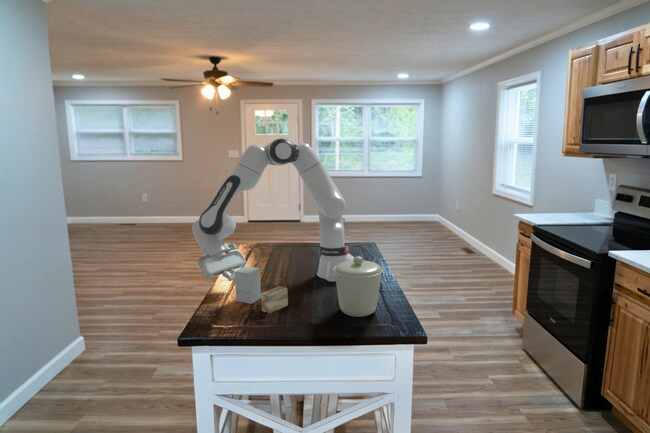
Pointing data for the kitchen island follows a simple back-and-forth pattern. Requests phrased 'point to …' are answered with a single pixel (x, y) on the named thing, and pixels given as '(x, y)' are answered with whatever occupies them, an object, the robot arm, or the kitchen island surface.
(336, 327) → the kitchen island surface
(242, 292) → the supplement box
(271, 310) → the block
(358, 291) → the canister
